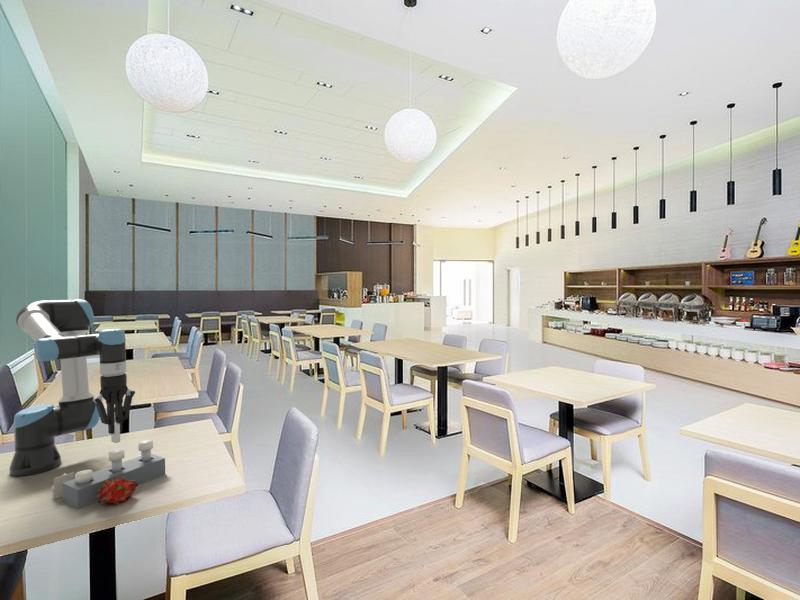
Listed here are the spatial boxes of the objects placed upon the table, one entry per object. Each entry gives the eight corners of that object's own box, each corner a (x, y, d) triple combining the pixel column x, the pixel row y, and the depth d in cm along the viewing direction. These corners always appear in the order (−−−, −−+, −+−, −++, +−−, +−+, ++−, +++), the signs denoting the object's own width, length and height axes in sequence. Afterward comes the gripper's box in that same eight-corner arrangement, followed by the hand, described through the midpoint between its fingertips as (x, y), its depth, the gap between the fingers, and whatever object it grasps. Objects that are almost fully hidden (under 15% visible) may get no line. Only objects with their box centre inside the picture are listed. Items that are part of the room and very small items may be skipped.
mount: (63, 501, 139) (62, 482, 139) (149, 468, 163) (149, 453, 163) (78, 508, 134) (77, 489, 134) (165, 474, 158) (164, 458, 158)
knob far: (136, 464, 156) (135, 442, 156) (149, 459, 160) (148, 438, 160) (143, 467, 154) (142, 445, 154) (156, 462, 158) (155, 441, 158)
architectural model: (50, 497, 142) (50, 475, 142) (76, 489, 148) (75, 468, 148) (53, 500, 140) (53, 478, 140) (79, 492, 146) (78, 471, 145)
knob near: (73, 498, 139) (72, 473, 139) (89, 492, 143) (88, 468, 143) (80, 501, 137) (79, 476, 137) (96, 495, 141) (95, 471, 140)
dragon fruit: (92, 514, 134) (135, 504, 143) (101, 504, 130) (144, 495, 139) (90, 486, 138) (132, 479, 147) (99, 476, 134) (141, 469, 143)
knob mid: (106, 475, 148) (105, 452, 147) (120, 470, 152) (119, 447, 151) (113, 478, 145) (112, 454, 145) (127, 472, 149) (126, 450, 149)
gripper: (97, 378, 140) (100, 450, 140) (139, 371, 151) (141, 437, 152) (86, 376, 143) (89, 446, 144) (127, 369, 155) (129, 434, 155)
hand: (115, 441), depth 148 cm, fingers closed
